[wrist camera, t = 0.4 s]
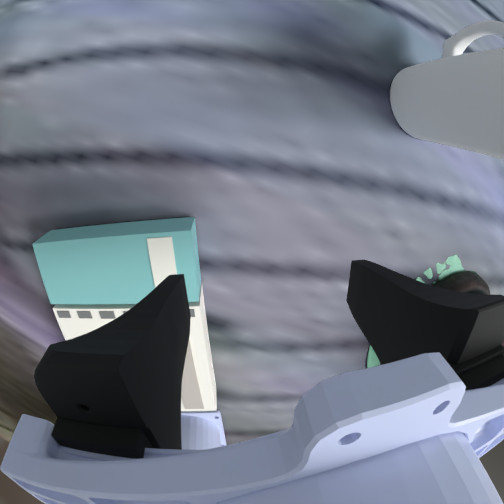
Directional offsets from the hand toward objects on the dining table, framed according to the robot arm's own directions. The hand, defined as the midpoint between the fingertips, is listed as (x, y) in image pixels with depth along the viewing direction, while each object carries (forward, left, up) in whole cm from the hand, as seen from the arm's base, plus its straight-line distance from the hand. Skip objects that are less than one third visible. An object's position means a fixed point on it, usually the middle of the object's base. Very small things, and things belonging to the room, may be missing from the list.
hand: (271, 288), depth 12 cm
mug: (+11, -14, -10) cm, 20 cm away
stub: (-2, +10, -10) cm, 14 cm away
